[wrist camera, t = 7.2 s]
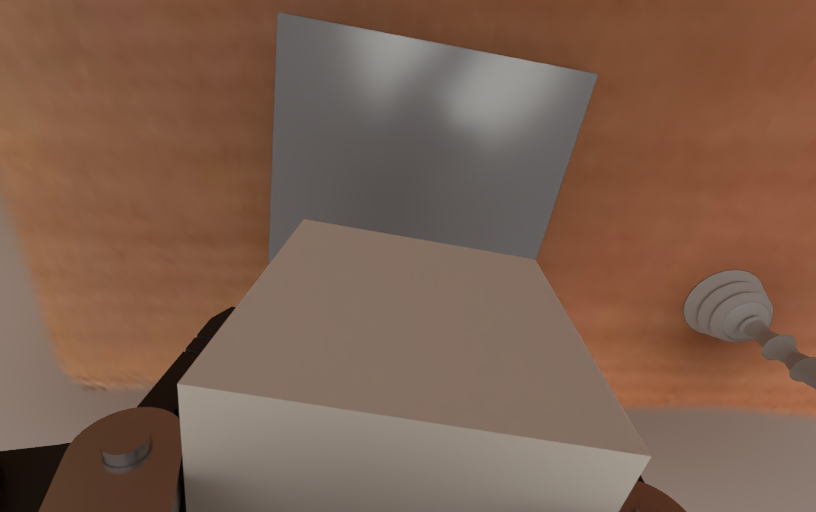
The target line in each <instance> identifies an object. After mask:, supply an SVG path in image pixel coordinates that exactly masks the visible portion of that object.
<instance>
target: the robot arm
mask: <svg viewBox="0 0 816 512" xmlns="http://www.w3.org/2000/svg"><path fill="white" fill-rule="evenodd" d="M235 308H236V307H230V308H229V309H227V310H225V311H223V312H222V313H220V314H218V315H216V316H214V317H213V318H211V319H210V320H209V321H208V323H207V324H206V325H205V326H204V327H203V329H202V330H201V331H200V332H199V333H198V335H197V338H194V339H193V341H192V342H191V343H190V344H189V345H188V347H187V348H186V351H185V352H183V353H182V354H181V355H180V356H179V357H178V359H177V360H176V361H175V362H174V363H173V365H172V366H171V367H170V368H169V369H168V370H167V372H166V373H165V374H164V375H163V376H162V378H161V379H160V380H159V381H158V382H157V384H156V385H155V386H154V387H153V388H152V390H151V391H150V392H149V393H148V394H147V396H146V397H145V398H144V399H143V401H142V402H141V403H140V404H139V405H138V407H137V408H132V409H126V410H122V411H119V412H116V413H113V414H110V415H108V416H106V417H104V418H102V419H100V420H98V421H96V422H95V423H93V424H91V425H90V426H89V427H87V428H86V429H84V430H83V431H82V432H81V433H80V434H79V435H78V436H77V437H76V438H75V439H74V440H73V441H72V442H71V443H66V444H60V445H52V446H43V447H35V448H27V449H17V450H8V451H0V512H186V501H185V487H184V473H183V459H182V444H181V430H180V416H179V402H178V388H177V383H178V382H179V381H180V379H181V378H182V377H183V376H184V374H185V373H186V372H187V370H188V369H189V368H190V366H191V365H192V364H193V363H194V361H195V360H196V359H197V357H198V356H199V355H200V353H201V352H202V351H203V350H204V348H205V347H206V346H207V344H208V343H209V342H210V340H211V339H212V338H213V336H214V335H215V334H216V333H217V331H218V330H219V329H220V327H221V326H222V325H223V323H224V322H225V321H226V320H227V318H228V317H229V316H230V314H231V313H232V312H233V310H234V309H235ZM619 512H686V511H685V510H684V509H683V508H682V507H681V506H680V505H679V504H678V503H677V502H675V501H674V500H673V499H672V498H670V497H669V496H668V495H666V494H665V493H663V492H662V491H660V490H658V489H657V488H655V487H652V486H650V485H648V484H646V483H644V481H643V479H642V477H641V475H640V477H639V478H638V480H637V482H636V483H635V485H634V487H633V488H632V490H631V492H630V493H629V495H628V497H627V499H626V500H625V502H624V504H623V505H622V507H621V509H620V510H619Z"/></svg>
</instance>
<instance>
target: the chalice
mask: <svg viewBox="0 0 816 512" xmlns="http://www.w3.org/2000/svg"><path fill="white" fill-rule="evenodd" d="M683 313H684V317H685V321H686V322H687V323H688V325H689V326H690V327H691V328H692V329H694V330H696V331H697V332H699V333H703V334H708V335H710V336H711V337H716V338H719V339H721V340H723V341H729V342H742V341H748V340H752V339H755V340H757V341H758V342H759V344H760V345H761V346H762V355H763V356H764V358H766V359H768V360H779V361H781V362H783V363H785V365H786V366H787V368H788V369H789V372H790V377H791V378H792V379H793V380H795V381H800V382H804V383H806V384H807V385H809V386H811V387H813V388H815V389H816V358H815V357H808V356H806V355H804V354H801V353H800V352H799V351H798V349H797V348H796V345H797V343H796V339H795V338H794V337H792V336H790V335H779V334H776V333H774V332H772V331H771V330H770V329H769V328H768V327H769V325H770V324H771V320H772V316H773V306H772V303H771V302H770V300H769V299H768V295H767V293H766V292H765V291H764V289H763V285H762V283H761V282H760V280H759V279H758V278H757V277H756V276H754V275H753V274H751V273H749V272H746V271H740V270H730V271H723V272H720V273H717V274H714V275H712V276H710V277H708V278H707V279H705V280H703V281H702V282H700V283H699V284H698V285H697V286H696V287H695V288H694V289H693V290H692V291H691V292H690V294H689V296H688V298H687V300H686V301H685V306H684V312H683Z"/></svg>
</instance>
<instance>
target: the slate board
mask: <svg viewBox="0 0 816 512" xmlns="http://www.w3.org/2000/svg"><path fill="white" fill-rule="evenodd" d="M597 76H598V74H595V73H590V72H585V71H579V70H574V69H569V68H564V67H559V66H554V65H549V64H543V63H538V62H533V61H528V60H523V59H518V58H512V57H507V56H502V55H497V54H492V53H487V52H481V51H476V50H471V49H466V48H461V47H456V46H450V45H445V44H440V43H435V42H430V41H425V40H419V39H414V38H409V37H404V36H399V35H394V34H388V33H383V32H378V31H373V30H368V29H363V28H357V27H352V26H347V25H342V24H337V23H332V22H326V21H321V20H316V19H311V18H306V17H301V16H295V15H290V14H285V13H280V12H277V40H276V67H275V94H274V122H273V149H272V176H271V203H270V231H269V258H268V265H269V264H270V262H271V261H272V260H273V258H274V257H275V256H276V255H277V253H278V252H279V251H280V249H281V248H282V247H283V245H284V244H285V243H286V242H287V240H288V239H289V238H290V236H291V235H292V234H293V232H294V231H295V230H296V229H297V227H298V226H299V225H300V223H301V222H302V221H303V219H306V220H312V221H318V222H324V223H329V224H335V225H341V226H347V227H352V228H358V229H364V230H370V231H375V232H381V233H387V234H393V235H398V236H404V237H410V238H416V239H421V240H427V241H433V242H439V243H444V244H450V245H456V246H462V247H467V248H473V249H479V250H485V251H490V252H496V253H502V254H508V255H513V256H519V257H525V258H531V259H535V260H536V258H537V255H538V252H539V249H540V246H541V243H542V240H543V237H544V234H545V231H546V228H547V225H548V222H549V219H550V216H551V213H552V210H553V207H554V204H555V201H556V198H557V195H558V192H559V189H560V186H561V183H562V180H563V177H564V174H565V171H566V168H567V165H568V162H569V160H570V157H571V154H572V151H573V148H574V145H575V142H576V139H577V136H578V133H579V130H580V127H581V124H582V121H583V118H584V115H585V112H586V109H587V106H588V103H589V100H590V97H591V94H592V91H593V88H594V85H595V82H596V79H597Z"/></svg>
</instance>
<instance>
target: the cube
mask: <svg viewBox="0 0 816 512" xmlns="http://www.w3.org/2000/svg"><path fill="white" fill-rule="evenodd" d="M177 388H178V402H179V416H180V430H181V444H182V459H183V473H184V487H185V501H186V512H619V510H620V509H621V507H622V505H623V504H624V502H625V500H626V499H627V497H628V495H629V493H630V492H631V490H632V488H633V487H634V485H635V483H636V482H637V480H638V478H639V477H640V475H641V473H642V472H643V470H644V468H645V466H646V465H647V463H648V461H649V460H650V458H651V455H650V453H649V452H648V450H647V448H646V447H645V445H644V443H643V442H642V440H641V438H640V436H639V435H638V433H637V432H636V430H635V428H634V426H633V425H632V423H631V421H630V419H629V418H628V416H627V414H626V413H625V411H624V409H623V408H622V406H621V404H620V403H619V401H618V399H617V397H616V396H615V394H614V392H613V391H612V389H611V387H610V386H609V384H608V382H607V381H606V379H605V377H604V375H603V374H602V372H601V370H600V369H599V367H598V365H597V364H596V362H595V360H594V359H593V357H592V355H591V353H590V352H589V350H588V348H587V347H586V345H585V343H584V342H583V340H582V338H581V337H580V335H579V333H578V331H577V330H576V328H575V326H574V325H573V323H572V321H571V320H570V318H569V316H568V315H567V313H566V311H565V309H564V308H563V306H562V304H561V303H560V301H559V299H558V298H557V296H556V294H555V293H554V291H553V289H552V287H551V286H550V284H549V282H548V281H547V279H546V277H545V276H544V274H543V272H542V271H541V269H540V267H539V265H538V264H537V262H536V260H535V259H531V258H525V257H519V256H513V255H508V254H502V253H496V252H490V251H485V250H479V249H473V248H467V247H462V246H456V245H450V244H444V243H439V242H433V241H427V240H421V239H416V238H410V237H404V236H398V235H393V234H387V233H381V232H375V231H370V230H364V229H358V228H352V227H347V226H341V225H335V224H329V223H324V222H318V221H312V220H306V219H303V221H302V222H301V223H300V225H299V226H298V227H297V229H296V230H295V231H294V232H293V234H292V235H291V236H290V238H289V239H288V240H287V242H286V243H285V244H284V245H283V247H282V248H281V249H280V251H279V252H278V253H277V255H276V256H275V257H274V258H273V260H272V261H271V262H270V264H269V265H268V266H267V268H266V269H265V270H264V271H263V273H262V274H261V275H260V277H259V278H258V279H257V281H256V282H255V283H254V284H253V286H252V287H251V288H250V290H249V291H248V292H247V294H246V295H245V296H244V297H243V299H242V300H241V301H240V303H239V304H238V305H237V307H236V308H235V309H234V310H233V312H232V313H231V314H230V316H229V317H228V318H227V320H226V321H225V322H224V323H223V325H222V326H221V327H220V329H219V330H218V331H217V333H216V334H215V335H214V336H213V338H212V339H211V340H210V342H209V343H208V344H207V346H206V347H205V348H204V350H203V351H202V352H201V353H200V355H199V356H198V357H197V359H196V360H195V361H194V363H193V364H192V365H191V366H190V368H189V369H188V370H187V372H186V373H185V374H184V376H183V377H182V378H181V379H180V381H179V382H178V383H177Z"/></svg>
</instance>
